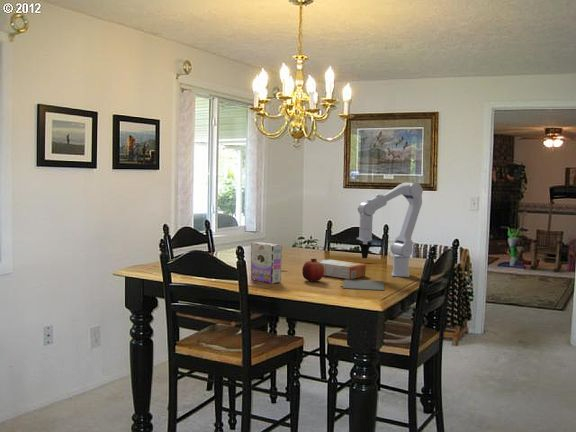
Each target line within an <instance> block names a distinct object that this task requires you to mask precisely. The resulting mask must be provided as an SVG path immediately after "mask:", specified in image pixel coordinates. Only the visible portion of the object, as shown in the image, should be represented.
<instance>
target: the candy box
mask: <svg viewBox="0 0 576 432" xmlns="http://www.w3.org/2000/svg"><path fill="white" fill-rule="evenodd" d="M250 246H251V250H250V251H251V252H250V253H251V254H250V255H251V256H250V257H251V258H250V261H251V262H250V280H251V279H255V280H254V281H256V280H258V281H257V282H260V281H262V282H261V283H265V282H266V283H267V284H270V285H272V284H281V283H282V253H283V251H282V250H283V248H282V247H283V245H282V244H276V243H269V242H264V241H263V242H262V241H258V242H257V241H256V242H251V245H250Z"/></svg>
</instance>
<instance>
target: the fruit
mask: <svg viewBox="0 0 576 432" xmlns="http://www.w3.org/2000/svg"><path fill="white" fill-rule="evenodd" d="M318 261H319V260H318V259H317V258H311V259H310V260H308V261H306V262H305V263H304V264H303V266H302V269H301V270H302V276H303V278H304V279H305V280H307V281H308V282H319V281H320V280H322V279H323V277H324V276H325V275H324V266H323V265H322V264H321V263H320V262H318Z"/></svg>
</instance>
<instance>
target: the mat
mask: <svg viewBox="0 0 576 432" xmlns="http://www.w3.org/2000/svg"><path fill="white" fill-rule="evenodd" d="M384 286H385V284H384V281H383V280H370V279H368V280H365V279H345V278H344V280H343V284H342V289H343V290H344V289H345V290H359V291H360V290H361V291H362V290H365V291H380V292H382V291H383V292H384V291H385V287H384Z"/></svg>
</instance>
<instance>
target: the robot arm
mask: <svg viewBox="0 0 576 432" xmlns="http://www.w3.org/2000/svg"><path fill="white" fill-rule="evenodd" d="M423 191H424V189H423V187H422V185H421V184H420V183H419V182H408V181H403V182H402V183H399V184H398V185H397V186H396V187H394V188H392V189H391V190H389V191H388V192H386V193H384V194H381V193H377V194H375V196H373V197H372V198H369V199H367V200H366V201H362V202H361V203H360V204H359V205H358V207H357V211H358V213H359V233H358V235H359V236H358V237H356V240H358V241H360V242H358V244H359V248H360V251H361V253H360V254H361V258H362V259H368V256H369V250H370V248H371V245H372V241H373V218H374V217H373V215H374V214H375V213H376V211H378V210H379V209H382V208H383V207H385V206H386V205H387V203H388V201H391V200H392V199H395V198H397V197H399V196H401V195H402V196H403V197H404V198H405V199H406V201H407V202H408V207H407V210H406V214H405V217H404V220H403V223H402V226H401V230H400V232H399V235H398V236H397V237H395V239H394V242H392V244H391V246H390V251H391V253H392V256H393V260H392V261H393V262H392V271H391V277H402V278H410V273H409V271H410V270H409V269H410V268H409V266H410V258H411V256H412V255H413V251H414V250H413V245H414V242H413V240H412V236H413V233H414V230H415V227H416V224H417V220H418V219H419V218H418V217H419V213H420V210H421V207H422V205H423Z"/></svg>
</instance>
